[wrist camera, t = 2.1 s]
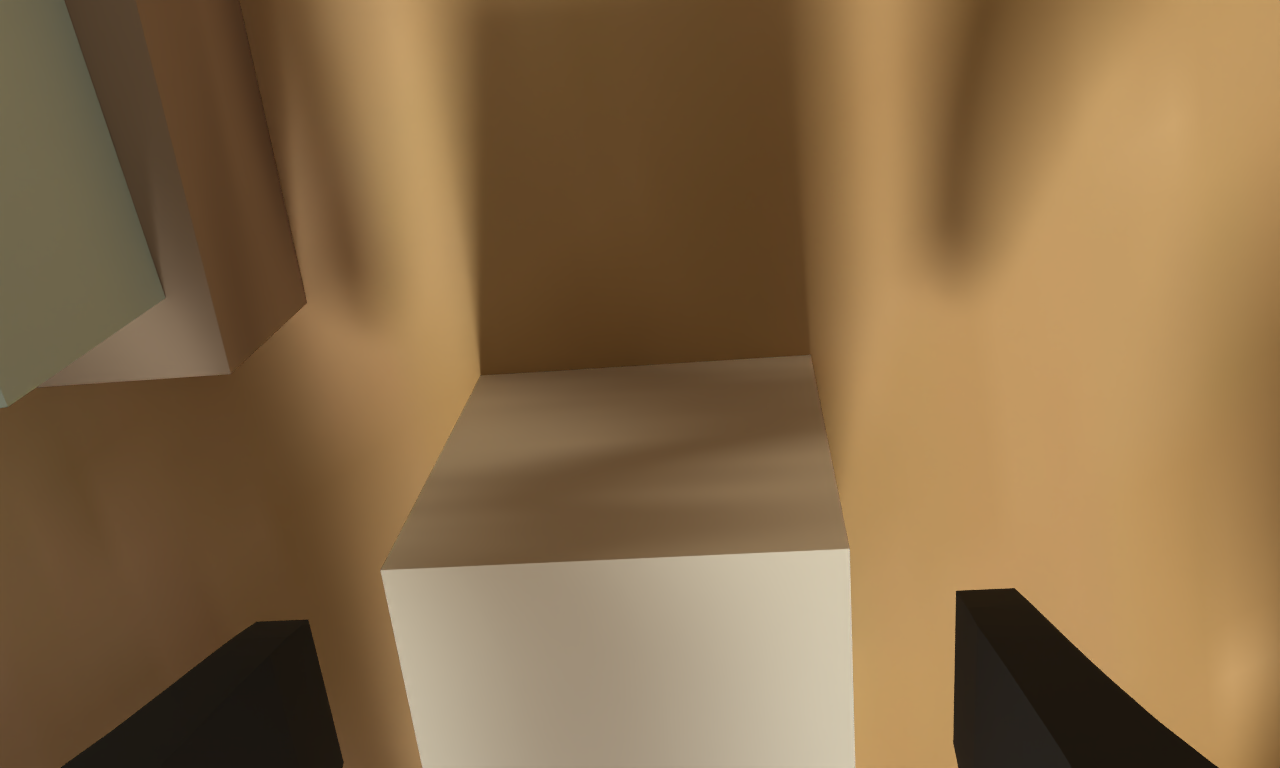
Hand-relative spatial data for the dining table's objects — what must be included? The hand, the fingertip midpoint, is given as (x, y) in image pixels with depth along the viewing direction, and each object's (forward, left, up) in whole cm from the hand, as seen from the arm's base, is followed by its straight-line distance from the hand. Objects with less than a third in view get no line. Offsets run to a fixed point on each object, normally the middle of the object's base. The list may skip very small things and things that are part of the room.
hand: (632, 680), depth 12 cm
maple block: (0, 0, -4) cm, 4 cm away
